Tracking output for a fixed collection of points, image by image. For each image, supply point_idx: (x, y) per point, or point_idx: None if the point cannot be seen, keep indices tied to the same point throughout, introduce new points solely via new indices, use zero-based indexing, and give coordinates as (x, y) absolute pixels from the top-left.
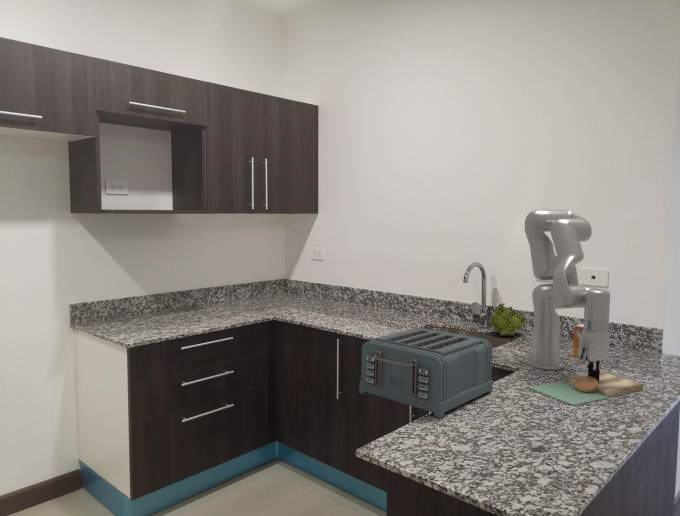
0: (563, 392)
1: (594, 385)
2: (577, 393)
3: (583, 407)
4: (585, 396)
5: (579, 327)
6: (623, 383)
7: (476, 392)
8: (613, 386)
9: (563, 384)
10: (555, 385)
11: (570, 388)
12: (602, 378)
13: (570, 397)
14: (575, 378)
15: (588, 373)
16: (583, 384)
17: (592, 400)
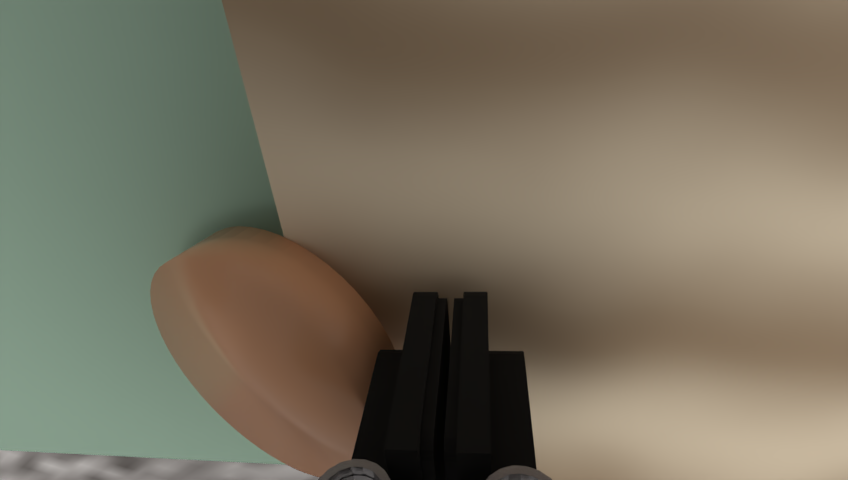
0: (16, 266)
1: (282, 460)
2: (150, 334)
3: (65, 472)
4: (180, 398)
5: None
6: (775, 455)
7: None
8: (552, 461)
9: (149, 44)
10: (6, 33)
11: (159, 208)
12: (798, 247)
13: (32, 368)
14: (361, 77)
15: (401, 366)
16: (219, 368)
17: (182, 457)
